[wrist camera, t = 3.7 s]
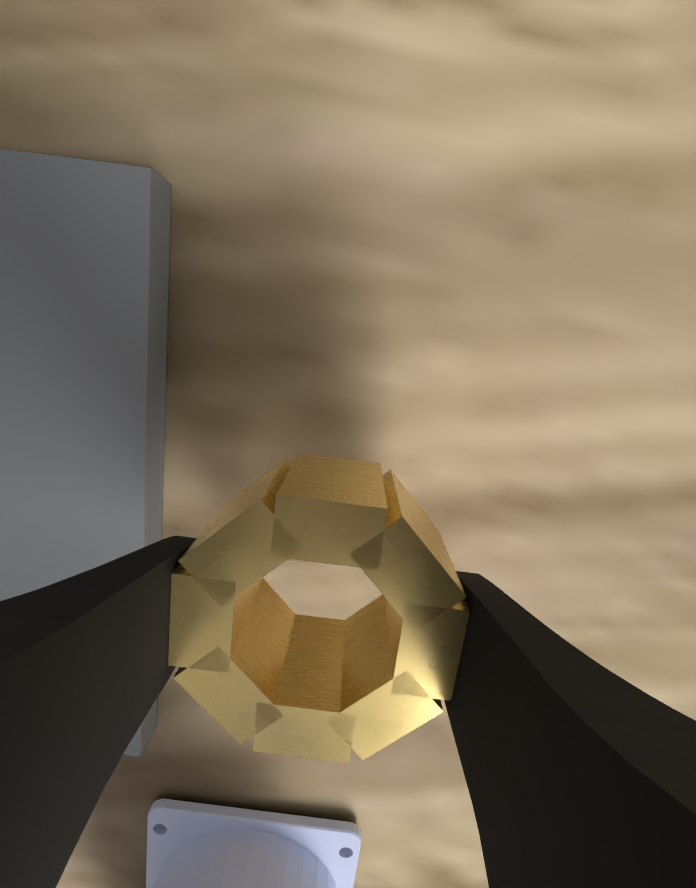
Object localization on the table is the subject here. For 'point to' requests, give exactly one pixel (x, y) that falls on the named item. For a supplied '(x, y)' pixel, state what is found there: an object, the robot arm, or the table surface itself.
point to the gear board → (81, 368)
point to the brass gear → (315, 638)
